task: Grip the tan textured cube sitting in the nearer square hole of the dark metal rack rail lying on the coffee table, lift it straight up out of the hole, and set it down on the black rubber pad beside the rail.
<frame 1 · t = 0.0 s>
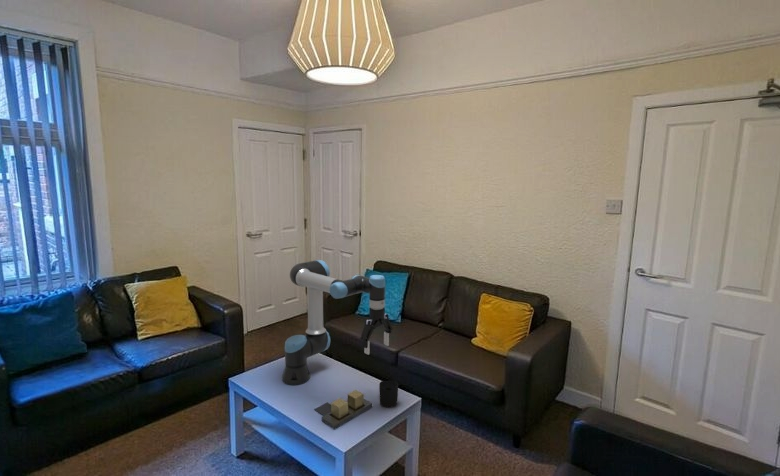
hand: (376, 349, 192), 28 cm above the table, fingers open, 13 cm apart
rubber pad: (326, 409, 189), on the table
block: (355, 409, 190), resting in rack rail
rack rail: (347, 413, 186), on the table
tan textured cube: (339, 418, 183), resting in rack rail
pen holder: (388, 403, 196), on the table
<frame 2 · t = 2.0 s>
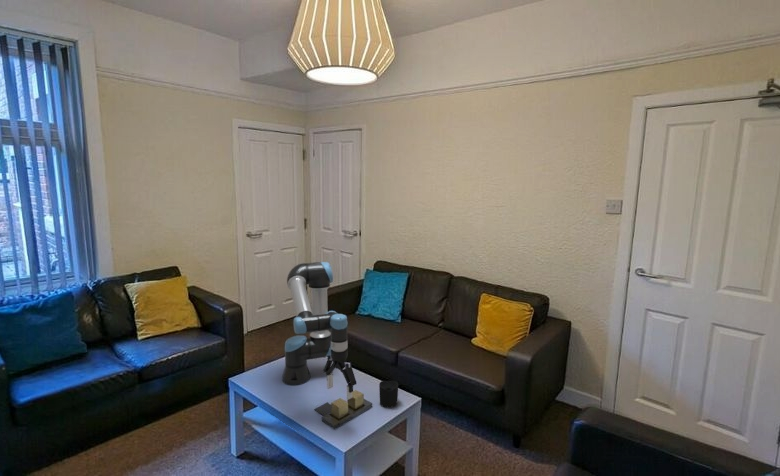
hand: (339, 393, 181), 13 cm above the table, fingers open, 13 cm apart
nothing on the table moved.
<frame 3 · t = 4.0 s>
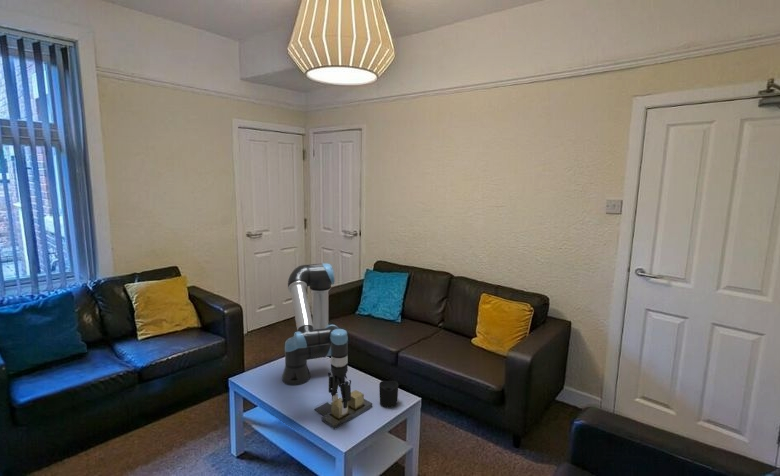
hand: (339, 410, 182), 4 cm above the table, fingers closed on tan textured cube, 5 cm apart
tan textured cube: (339, 418, 183), resting in rack rail, touching gripper
everything else where it was.
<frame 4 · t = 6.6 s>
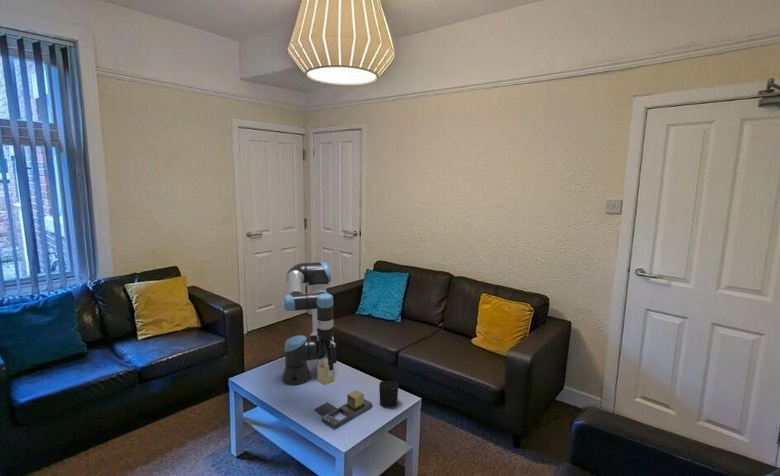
hand: (325, 373, 187), 19 cm above the table, fingers closed on tan textured cube, 5 cm apart
tan textured cube: (325, 381, 187), point 15 cm above the table, touching gripper
everything else where it was.
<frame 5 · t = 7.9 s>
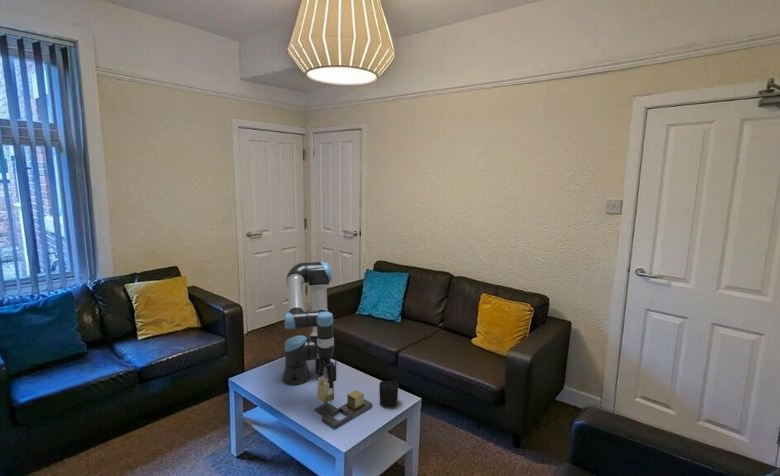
hand: (325, 391, 188), 10 cm above the table, fingers closed on tan textured cube, 5 cm apart
tan textured cube: (325, 399, 188), point 6 cm above the table, touching gripper
everything else where it was.
when the fingers open (6 cm above the table, at t = 9.2 s): tan textured cube drops 2 cm, resting on rubber pad.
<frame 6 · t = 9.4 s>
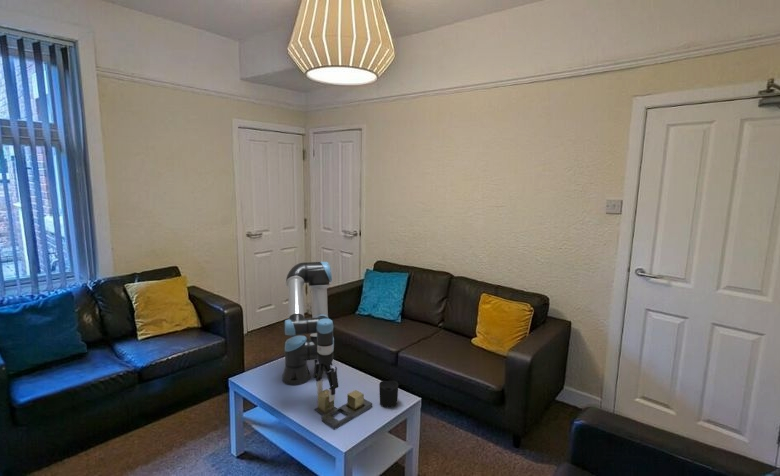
hand: (325, 396, 188), 7 cm above the table, fingers open, 8 cm apart
tan textured cube: (326, 408, 189), point 1 cm above the table, touching rubber pad
everything else where it was.
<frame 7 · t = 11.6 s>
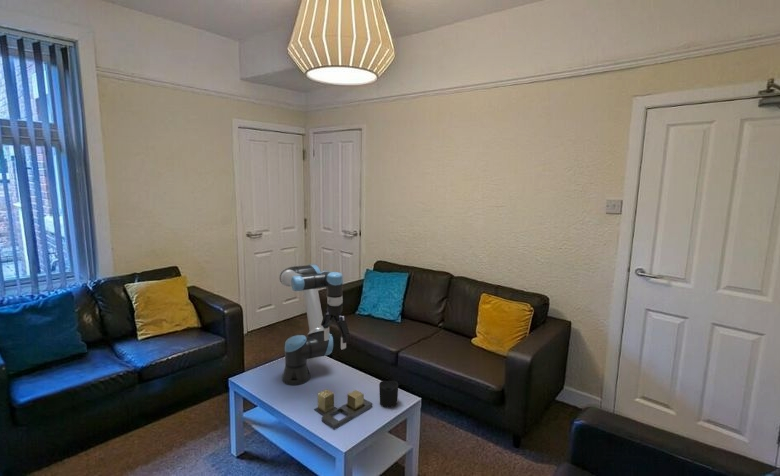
hand: (334, 344, 198), 28 cm above the table, fingers open, 13 cm apart
nothing on the table moved.
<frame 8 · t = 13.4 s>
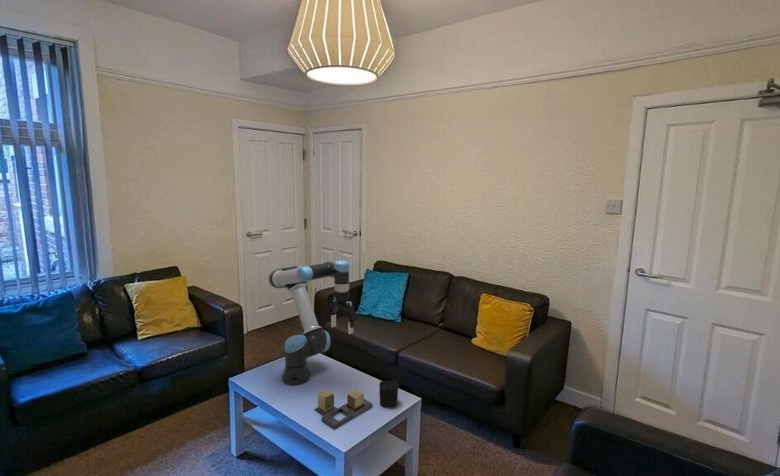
hand: (342, 329, 207), 32 cm above the table, fingers open, 13 cm apart
nothing on the table moved.
at the end: tan textured cube inside the target area on the rubber pad (0.0 cm from its centre), point 0.6 cm above the rubber pad's base; tan textured cube tilted 0°; the gripper is holding nothing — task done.
